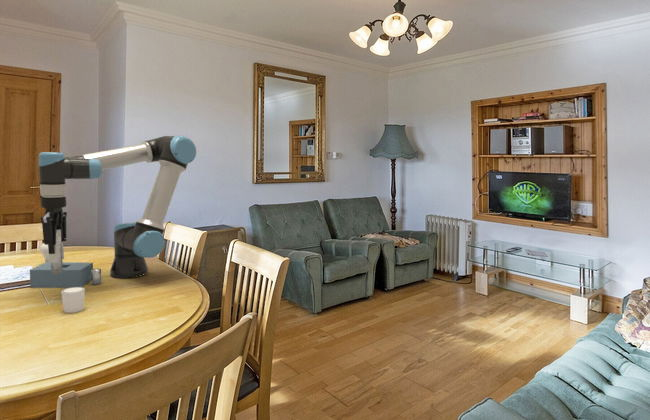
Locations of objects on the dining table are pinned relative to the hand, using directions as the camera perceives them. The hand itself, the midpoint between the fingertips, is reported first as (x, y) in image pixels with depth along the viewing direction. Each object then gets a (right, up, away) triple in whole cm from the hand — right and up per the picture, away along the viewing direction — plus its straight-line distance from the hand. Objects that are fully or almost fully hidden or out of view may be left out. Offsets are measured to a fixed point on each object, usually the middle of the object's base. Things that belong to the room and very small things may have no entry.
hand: (56, 260), depth 146 cm
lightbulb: (-32, -8, +43) cm, 54 cm away
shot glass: (+12, -16, -9) cm, 21 cm away
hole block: (-9, -11, +18) cm, 23 cm away
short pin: (+4, -12, +19) cm, 23 cm away
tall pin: (0, -5, +1) cm, 5 cm away
